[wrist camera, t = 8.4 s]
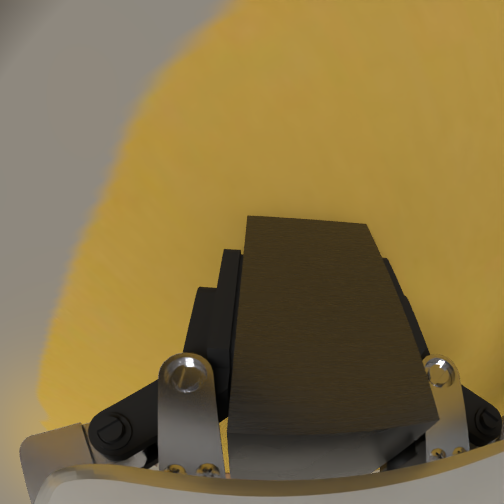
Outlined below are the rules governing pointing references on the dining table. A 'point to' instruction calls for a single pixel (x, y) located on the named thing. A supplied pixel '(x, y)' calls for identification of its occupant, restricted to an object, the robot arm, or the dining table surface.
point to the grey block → (321, 356)
